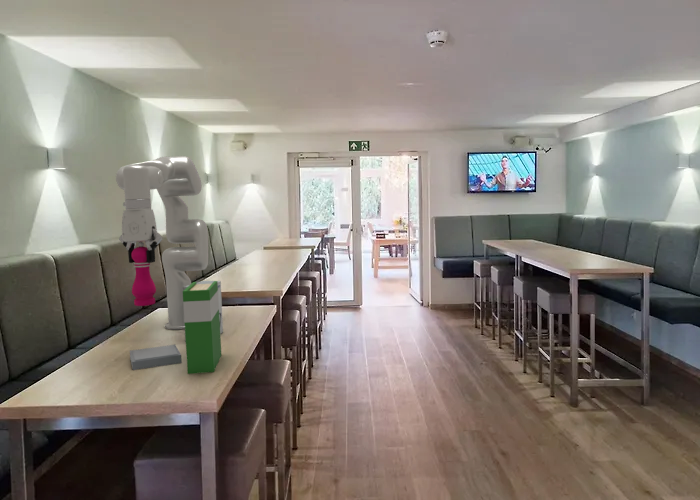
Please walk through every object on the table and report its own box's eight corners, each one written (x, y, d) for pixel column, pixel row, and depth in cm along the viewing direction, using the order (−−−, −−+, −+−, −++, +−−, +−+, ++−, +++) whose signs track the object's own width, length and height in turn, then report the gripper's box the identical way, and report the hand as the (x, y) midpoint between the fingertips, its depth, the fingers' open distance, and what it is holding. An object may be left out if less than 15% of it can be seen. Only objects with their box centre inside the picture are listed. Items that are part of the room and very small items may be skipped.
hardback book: (197, 356, 174) (193, 282, 172) (221, 354, 175) (217, 280, 173) (187, 373, 157) (182, 291, 154) (214, 372, 157) (209, 290, 155)
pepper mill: (128, 305, 173) (123, 242, 172) (148, 301, 179) (144, 240, 177) (141, 307, 169) (136, 242, 167) (161, 303, 175) (157, 241, 173)
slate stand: (130, 358, 174) (129, 349, 174) (175, 351, 180) (175, 343, 180) (132, 370, 162) (132, 361, 161) (181, 362, 167) (181, 354, 167)
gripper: (107, 206, 170) (111, 263, 172) (154, 204, 165) (158, 264, 167) (123, 205, 177) (127, 261, 179) (169, 204, 172) (172, 261, 174)
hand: (142, 261), depth 173 cm, fingers closed on pepper mill, 6 cm apart
